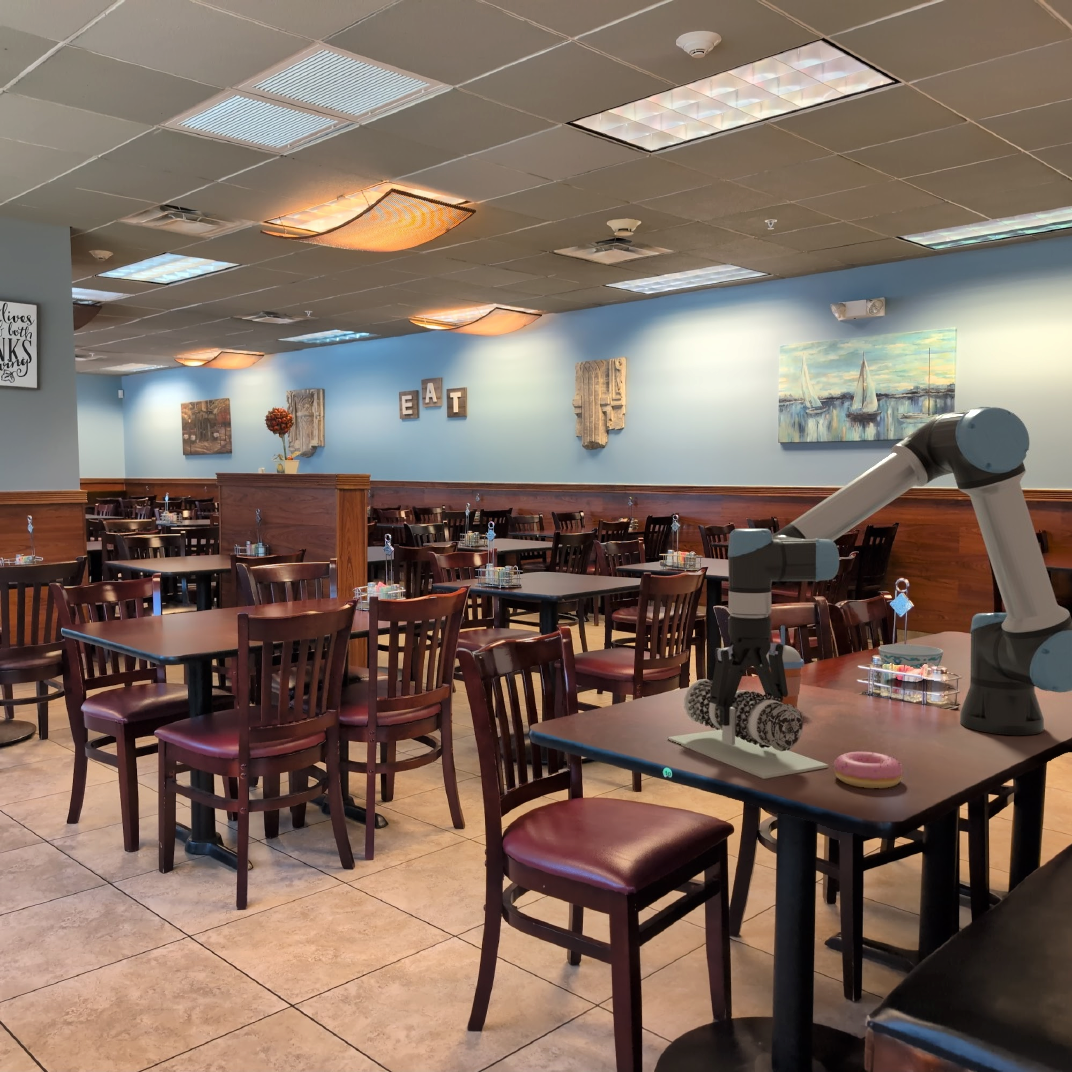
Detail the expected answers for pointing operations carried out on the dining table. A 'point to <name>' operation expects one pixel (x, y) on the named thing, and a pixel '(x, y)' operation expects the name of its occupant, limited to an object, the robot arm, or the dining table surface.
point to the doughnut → (868, 769)
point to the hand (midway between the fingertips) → (749, 739)
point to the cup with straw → (791, 671)
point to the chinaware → (910, 655)
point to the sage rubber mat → (748, 755)
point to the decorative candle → (748, 716)
